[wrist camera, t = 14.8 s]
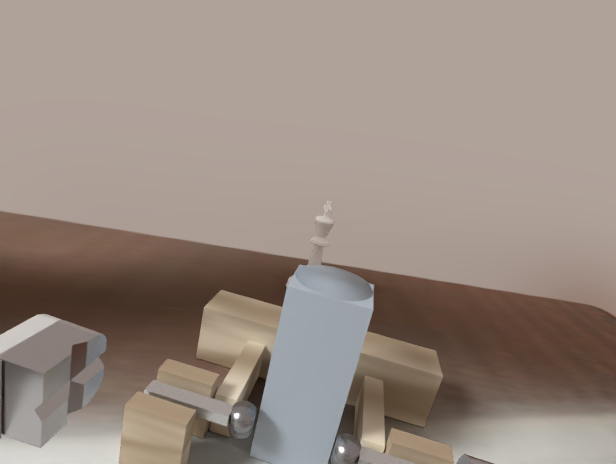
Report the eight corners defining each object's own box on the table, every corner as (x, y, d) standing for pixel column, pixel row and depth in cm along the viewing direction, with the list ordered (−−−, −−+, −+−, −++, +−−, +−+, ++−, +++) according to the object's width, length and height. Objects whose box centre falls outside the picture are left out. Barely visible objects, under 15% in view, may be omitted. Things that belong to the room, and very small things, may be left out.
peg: (322, 480, 20) (373, 309, 17) (249, 456, 20) (287, 285, 18) (331, 424, 24) (373, 277, 21) (269, 405, 24) (303, 258, 21)
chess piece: (288, 298, 39) (310, 202, 36) (283, 277, 43) (302, 191, 41) (335, 303, 40) (359, 211, 37) (325, 283, 44) (346, 199, 42)
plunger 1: (247, 442, 18) (252, 422, 18) (140, 407, 19) (142, 387, 19) (255, 424, 20) (259, 405, 19) (154, 391, 20) (156, 372, 20)
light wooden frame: (448, 576, 17) (479, 509, 16) (113, 461, 18) (119, 392, 17) (419, 397, 28) (435, 350, 27) (213, 336, 30) (221, 289, 29)
